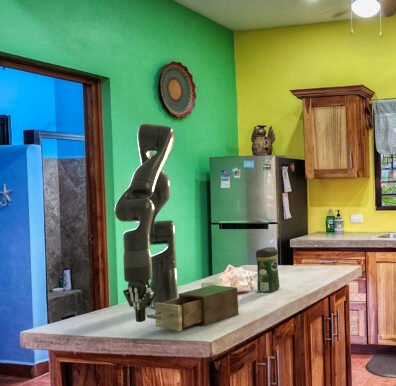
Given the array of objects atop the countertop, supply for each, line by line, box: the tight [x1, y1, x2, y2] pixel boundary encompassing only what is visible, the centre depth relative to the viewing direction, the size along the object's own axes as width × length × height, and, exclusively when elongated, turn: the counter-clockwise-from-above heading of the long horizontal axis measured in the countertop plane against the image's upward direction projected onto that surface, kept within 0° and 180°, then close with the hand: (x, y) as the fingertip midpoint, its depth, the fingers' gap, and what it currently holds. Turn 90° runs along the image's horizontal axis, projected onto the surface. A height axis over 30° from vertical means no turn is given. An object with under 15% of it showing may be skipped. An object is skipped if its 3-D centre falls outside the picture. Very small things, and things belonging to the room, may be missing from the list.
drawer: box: [146, 297, 203, 332], centre depth 158 cm, size 18×11×8 cm, turn 151°
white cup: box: [200, 277, 224, 288], centre depth 185 cm, size 8×8×10 cm
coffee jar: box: [255, 246, 281, 294], centre depth 209 cm, size 10×8×19 cm
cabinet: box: [178, 285, 239, 327], centre depth 168 cm, size 15×13×10 cm
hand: (140, 321), depth 146 cm, fingers closed
